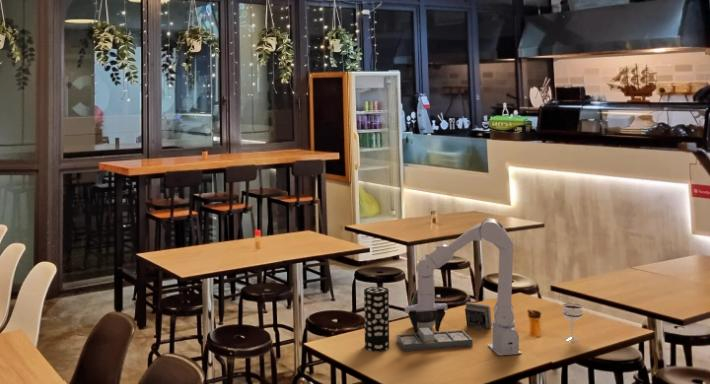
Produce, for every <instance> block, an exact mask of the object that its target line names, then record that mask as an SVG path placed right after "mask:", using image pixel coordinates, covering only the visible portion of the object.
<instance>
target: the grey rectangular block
mask: <svg viewBox="0 0 710 384" xmlns="http://www.w3.org/2000/svg"><path fill="white" fill-rule="evenodd" d="M433 332H434V331H432V330H431V328H430V329H429V328H419V329H418V333H419V339H420V341H421V342H422V343H426V342H432V341H433V342H434V333H433Z"/></svg>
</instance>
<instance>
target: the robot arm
mask: <svg viewBox="0 0 710 384" xmlns="http://www.w3.org/2000/svg"><path fill="white" fill-rule="evenodd" d="M482 239H483V240H485V241H486V242H489V243H491V244H493V246H495V247H496V248H497V249H498V250H499V251H498V253H499V254H498V276H497V277H498V280H497V300H496V303H495V305H494V307H493V310H494V311H493V312H494V316H493V320H492V343H490V344H489V343H488V344H487V346H488V347H489V348H490V349H491V350H492V351H493V352H494V353H496V354H497V356H510V355H521V354H522V351H521V350H520V348H519V347H520V335H519V333H518V331H517V330H516V321H515V315H514V307H513V305H512V295H513V294H512V293H513V291H512V290H513V289H512V288H513V266H514V242H513V240H512V238H511V237H510V235H509V233H508V232H507V230H506V228H505V227H504V225H503V224H502V223H501V222H500V221H498V220H497V219H496V218H492V217H487V218H485V219H484V220H482V222H478V223H477V224H475V225H473V226H472V227H471V228H469V229H468V230H466V231H465V232H463V233H462V234H461V235H460V236H458V237H456V239H455V240H453V241H452V242H450V243H449V244H442V245H440V244H438V245H437V246H436V247H435V249H434V250H432V251H431V252H430V253H426V254H425V255H424V257H421V258H420V260H419V261H418V263H416V264H417V265H416V272H417V290H418V304H415V305H411V304H410V305H405V306H404V312H405V313H406V314H408V316H409V317H410V319H411V321H410V323H411V322H412V323H411V325H412V328H413V333H414V334H417V333H418V332H419V329H417V320H418V316H417V313H416V312H421V311H434V312H435V324H434V329H435V332H440V329H441V328H440V327H441V324H442V321H443V319H444V317H445V316H446V311H448V304H447V303H446V302H445V303H443V302H442V303H440V302H438V303H437V302H435V298H436V297H435V295H436V293H435V275H434V274H435V270H438V269H440V268H441V267H443V266H444V265H446V264H447V263H448V262H450V261H451V260H452V259H454V254H455V253H456V252H457V251H459V250H461V249H462V248H464V247H465V246H467V245H468V244H469V243H471V242H473V241H479V242H480V241H482ZM409 317H408V318H409ZM410 319H409V320H410Z"/></svg>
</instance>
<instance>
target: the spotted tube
mask: <svg viewBox="0 0 710 384" xmlns="http://www.w3.org/2000/svg"><path fill="white" fill-rule="evenodd" d="M389 291H390V290H389V288H387V287H383V286H371V287H370V286H369V287H366V288H365V289H363V302H364V303H363V304H364V305H363V306H364V307H363V309H364V310H363V311H364V313H363V314H364V316H363V317H364V349H365V348H366V350H367V351H370V352H378V351H379V352H384V351H387V350H389V349H390V304H389V303H390V297H389V296H390V295H389V294H390V292H389Z"/></svg>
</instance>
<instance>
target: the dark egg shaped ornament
mask: <svg viewBox="0 0 710 384" xmlns="http://www.w3.org/2000/svg"><path fill="white" fill-rule="evenodd" d="M415 304H418V289H417V290H416V291H415V293H414V294H413V297H412V299H411V303H410V305H415ZM416 313H417V316H418V320H417V330H419V328H429V329H430V330H431V328H433V327H435V312H434V311H421V312H416ZM408 319H409V320H410V324H412V322H411V319H410V317H408Z"/></svg>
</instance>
